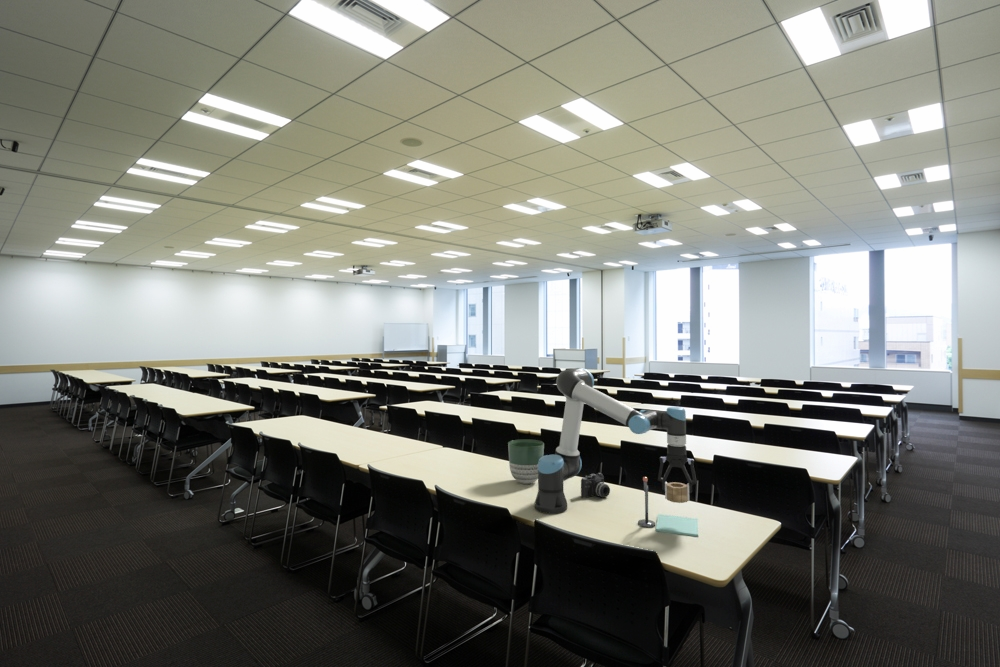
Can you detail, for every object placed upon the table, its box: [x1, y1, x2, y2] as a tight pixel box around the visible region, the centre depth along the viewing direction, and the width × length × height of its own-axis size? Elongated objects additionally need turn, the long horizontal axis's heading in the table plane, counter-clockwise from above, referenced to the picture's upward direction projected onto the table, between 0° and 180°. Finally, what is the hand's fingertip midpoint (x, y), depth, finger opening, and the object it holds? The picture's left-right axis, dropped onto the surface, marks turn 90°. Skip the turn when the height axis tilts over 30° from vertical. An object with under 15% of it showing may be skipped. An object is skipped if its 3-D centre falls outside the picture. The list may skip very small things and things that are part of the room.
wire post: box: [637, 476, 656, 529], centre depth 205 cm, size 7×10×22 cm, turn 159°
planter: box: [507, 439, 545, 485], centre depth 267 cm, size 20×20×21 cm
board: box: [655, 513, 699, 537], centre depth 205 cm, size 16×18×1 cm
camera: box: [580, 472, 611, 499], centre depth 244 cm, size 14×11×10 cm
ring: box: [666, 481, 688, 504], centre depth 205 cm, size 8×8×6 cm
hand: (677, 499), depth 205 cm, fingers closed on ring, 8 cm apart
